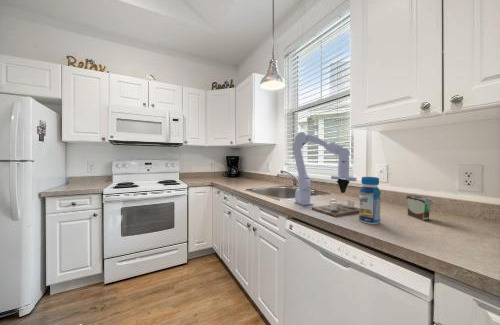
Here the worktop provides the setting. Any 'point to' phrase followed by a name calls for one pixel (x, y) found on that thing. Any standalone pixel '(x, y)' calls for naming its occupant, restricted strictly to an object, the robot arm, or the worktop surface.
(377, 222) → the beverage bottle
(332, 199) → the knob
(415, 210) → the food container
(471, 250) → the worktop surface
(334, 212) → the switch board
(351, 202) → the knob
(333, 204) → the knob
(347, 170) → the robot arm
